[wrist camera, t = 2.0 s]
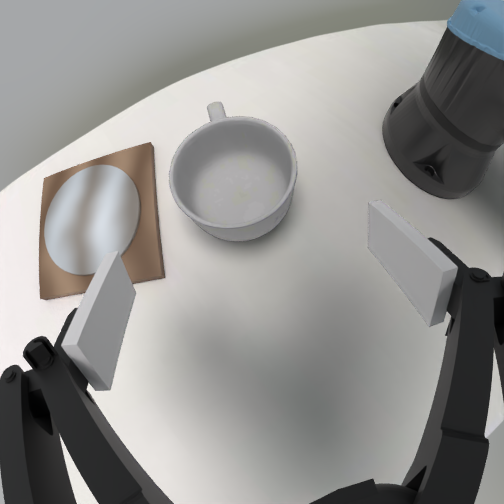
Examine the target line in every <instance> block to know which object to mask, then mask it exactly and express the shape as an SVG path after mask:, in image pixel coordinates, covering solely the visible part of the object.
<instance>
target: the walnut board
mask: <svg viewBox="0 0 504 504" xmlns="http://www.w3.org/2000/svg"><path fill="white" fill-rule="evenodd" d="M116 251H119V254H120V256H121V259H122V261H123V263H124V266H125V268H126V271H127V273H128V275H129V278H130V280H131V282H132V284H134V283H140V282H145V281H150V280H155V279H161V278H165V273H164V265H163V257H162V248H161V239H160V230H159V219H158V208H157V196H156V182H155V165H154V147H153V145H152V144H151V142H149V143H145V144H142V145H138V146H135V147H132V148H128V149H125V150H122V151H118V152H115V153H112V154H109V155H106V156H103V157H100V158H97V159H94V160H91V161H88V162H85V163H82V164H80V165H77V166H74V167H71V168H69V169H66V170H64V171H61V172H58V173H56V174H53V175H51V176H48V177H46V178H44V183H43V192H42V202H41V216H40V235H39V283H40V299H44V300H49V299H54V298H59V297H65V296H70V295H76V294H81V293H86V291H87V289H88V287H89V285H90V283H91V281H92V279H93V277H94V275H95V273H96V271H97V269H98V267H99V266H100V264H101V262H102V260H103V258H104V256H105V255H106V254H107V253H112V252H116Z"/></svg>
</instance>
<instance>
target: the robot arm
mask: <svg viewBox="0 0 504 504" xmlns="http://www.w3.org/2000/svg"><path fill="white" fill-rule="evenodd" d="M383 137H384V141H385V144H386V147H387V150H388V152H389V154H390V156H391V157H392V159H393V161H394V162H395V164H396V165H397V166H398V168H399V169H400V170H401V171H402V172H403V174H404V175H405V176H406V177H407V178H408V179H410V180H411V181H412V182H413V183H414V184H416V185H417V186H418V187H420V188H421V189H423V190H424V191H426V192H428V193H430V194H433V195H435V196H438V197H442V198H448V199H455V198H460V197H463V196H465V195H467V194H468V193H469V192H471V191H472V190H473V189H474V188H476V187H477V186H478V185H479V183H480V182H481V181H482V179H483V177H484V175H485V173H486V171H487V169H488V166H489V164H490V162H491V160H492V157H493V155H494V153H495V151H496V149H498V148H499V147H500V146H501V145H502V144H503V143H504V1H503V0H461V2H460V4H459V5H458V7H457V9H456V11H455V12H454V14H453V16H452V17H450V18H449V19H448V21H447V28H446V30H445V33H444V35H443V37H442V39H441V41H440V43H439V45H438V47H437V49H436V51H435V53H434V55H433V57H432V59H431V61H430V63H429V65H428V67H427V68H426V70H425V73H424V74H423V76H422V78H421V80H420V81H419V82H418V83H417V84H415V85H414V86H413V87H411V88H410V89H409V90H407V91H406V92H405V93H403V94H402V95H401V96H399V97H398V98H397V99H396V100H395V101H394V102H393V103H392V105H391V106H390V108H389V110H388V112H387V114H386V116H385V118H384V122H383ZM368 248H369V250H370V251H371V252H372V253H373V254H374V256H375V257H376V258H377V259H378V261H379V262H380V263H381V264H382V266H383V267H384V268H385V269H386V270H387V272H388V273H389V274H390V276H391V277H392V278H393V279H394V281H395V282H396V283H397V284H398V286H399V287H400V288H401V290H402V291H403V292H404V294H405V295H406V296H407V297H408V299H409V300H410V301H411V303H412V304H413V305H414V307H415V308H416V309H417V311H418V312H419V314H420V315H421V316H422V318H423V319H424V320H425V322H426V323H427V325H428V326H429V327H430V326H433V325H436V324H438V323H441V322H443V321H444V318H445V315H446V311H448V313H449V314H450V315H451V319H450V322H449V325H448V328H447V331H446V334H445V336H447V341H446V347H445V352H444V357H443V362H442V367H441V371H440V376H439V380H438V384H437V388H436V392H435V396H434V400H433V404H432V407H431V411H430V414H429V418H428V421H427V424H426V427H425V430H424V434H423V437H422V440H421V442H420V445H419V448H418V451H417V454H416V456H415V459H414V461H413V464H412V466H411V468H410V469H409V471H408V473H407V475H406V477H405V479H404V481H403V483H402V485H396V484H375V482H374V479H370V480H367V481H364V482H361V483H358V484H354V485H351V486H348V487H344V488H341V489H338V490H336V491H334V492H332V493H330V494H328V495H326V496H324V497H322V498H320V499H318V500H316V501H314V502H312V503H309V504H474V502H475V499H476V496H477V493H478V489H479V486H480V482H481V479H482V475H483V471H484V467H485V463H486V459H487V455H488V449H489V441H488V439H486V438H485V436H484V433H485V427H486V421H487V415H488V408H489V400H490V392H491V382H492V370H493V353H494V350H495V354H496V359H497V364H498V369H499V375H500V381H501V387H502V393H503V401H504V273H503V276H502V277H491V276H490V275H489V274H488V273H487V272H486V271H484V270H482V269H479V268H468V267H467V266H466V265H465V264H464V263H463V262H462V261H461V260H460V259H459V258H458V257H457V256H455V255H454V254H452V252H451V251H450V250H449V249H447V247H445V246H444V245H443V244H442V243H441V242H439V241H437V240H435V239H433V238H426V237H425V236H424V235H423V234H422V233H420V232H419V231H418V230H417V229H416V228H415V227H413V226H412V225H411V224H410V223H409V222H408V221H406V220H405V219H404V218H403V217H402V216H400V215H399V214H398V213H397V212H396V211H394V210H393V209H392V208H391V207H389V206H388V205H387V204H386V203H384V202H383V201H382V200H378V201H372V202H369V222H368ZM135 296H136V291H135V289H134V287H133V285H132V282H131V280H130V278H129V275H128V273H127V271H126V268H125V266H124V263H123V261H122V259H121V256H120V254H119V251H116V252H112V253H107V254H106V255H105V256H104V258H103V260H102V262H101V264H100V266H99V267H98V269H97V271H96V273H95V275H94V277H93V279H92V281H91V283H90V285H89V287H88V289H87V291H86V293H85V295H84V297H83V299H82V301H81V303H80V305H79V307H78V308H74V310H73V311H72V312H71V313H70V314H69V315H68V317H67V319H66V321H65V323H64V325H63V327H62V329H61V332H60V334H59V336H58V338H57V340H56V342H55V345H54V347H53V346H52V344H51V343H50V341H49V340H48V339H47V338H46V337H44V336H40V337H37V338H35V339H33V340H32V341H30V342H29V343H28V344H27V346H26V347H25V349H24V351H23V357H24V358H25V360H26V361H27V362H28V363H29V365H30V366H31V367H32V368H33V369H32V370H29V371H26V372H24V371H23V370H22V369H21V368H20V367H19V366H18V365H12V366H10V367H8V368H7V369H6V370H5V371H4V372H3V374H2V376H1V378H0V469H1V478H2V487H3V494H4V500H5V504H77V503H76V500H75V497H74V493H73V490H72V486H71V483H70V479H69V476H68V472H67V468H66V464H65V459H64V455H63V450H62V446H61V441H60V435H61V438H62V440H63V442H64V444H65V446H66V448H67V450H68V452H69V454H70V456H71V457H72V459H73V461H74V463H75V465H76V467H77V469H78V470H79V472H80V474H81V476H82V477H83V479H84V481H85V482H86V484H87V486H88V487H89V489H90V491H91V492H92V494H93V496H94V497H95V499H96V500H97V502H98V503H99V504H174V503H173V502H172V501H171V500H170V499H169V498H168V497H167V496H166V495H165V494H164V493H163V491H162V490H161V489H160V488H159V487H158V486H157V485H156V484H155V482H154V481H153V480H152V479H151V478H150V477H149V475H148V474H147V473H146V472H145V471H144V469H143V468H142V467H141V466H140V464H139V463H138V462H137V461H136V459H135V458H134V457H133V456H132V454H131V453H130V452H129V450H128V449H127V448H126V446H125V445H124V444H123V442H122V441H121V440H120V438H119V437H118V435H117V434H116V433H115V431H114V430H113V428H112V427H111V425H110V424H109V423H108V421H107V420H106V418H105V417H104V415H103V414H102V412H101V410H100V409H99V407H98V406H97V404H96V403H95V401H94V399H93V398H92V396H91V394H90V393H89V392H88V391H87V386H88V382H89V384H90V385H91V386H92V387H93V388H94V390H95V391H104V390H111V386H112V382H113V377H114V373H115V369H116V365H117V361H118V357H119V353H120V349H121V345H122V341H123V338H124V334H125V330H126V327H127V323H128V319H129V316H130V312H131V309H132V306H133V302H134V299H135ZM59 433H60V435H59Z"/></svg>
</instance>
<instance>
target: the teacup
mask: <svg viewBox="0 0 504 504" xmlns="http://www.w3.org/2000/svg"><path fill="white" fill-rule="evenodd" d="M207 110H208V114H209V117H210V121H211V122H209V123H207V124H205V125H203V126H201V127H200V128H198V129H196V130H195V131H193V132H192V133H191V134H190V135H189V136H187V137H186V138H185V140H184V141H183V142H182V143H181V144H180V146H179V147H178V149H177V151H176V152H175V154H174V156H173V159H172V162H171V166H170V171H169V185H170V189H171V193H172V195H173V197H174V200H175V202H176V203H177V205H178V206H179V208H180V209H181V210H182V211H183V212H184V213H185V214H186V215H187V216H189V217H190V218H191V219H192V220H193V221H194V222H195V223H196V224H197V225H198V226H200V227H201V228H202V229H203V230H204V231H206V232H207V233H209V234H211V235H213V236H215V237H217V238H220V239H223V240H228V241H247V240H252V239H255V238H258V237H260V236H262V235H264V234H266V233H268V232H269V231H271V230H272V229H273V228H275V227H276V226H277V225H278V224H279V223H280V221H281V220H282V219H283V217H284V216H285V214H286V212H287V211H288V208H289V206H290V203H291V200H292V196H293V191H294V185H295V181H296V177H297V160H296V155H295V152H294V149H293V147H292V145H291V143H290V142H289V140H288V139H287V138H286V136H285V135H284V134H283V133H282V132H281V131H280V130H279V129H278V128H276V127H275V126H273V125H271V124H270V123H268V122H266V121H263V120H260V119H256V118H253V117H245V116H236V117H226V114H225V111H224V107H223V104H222V103H221V102H214V103H211V104H209V105H208V106H207Z"/></svg>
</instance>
